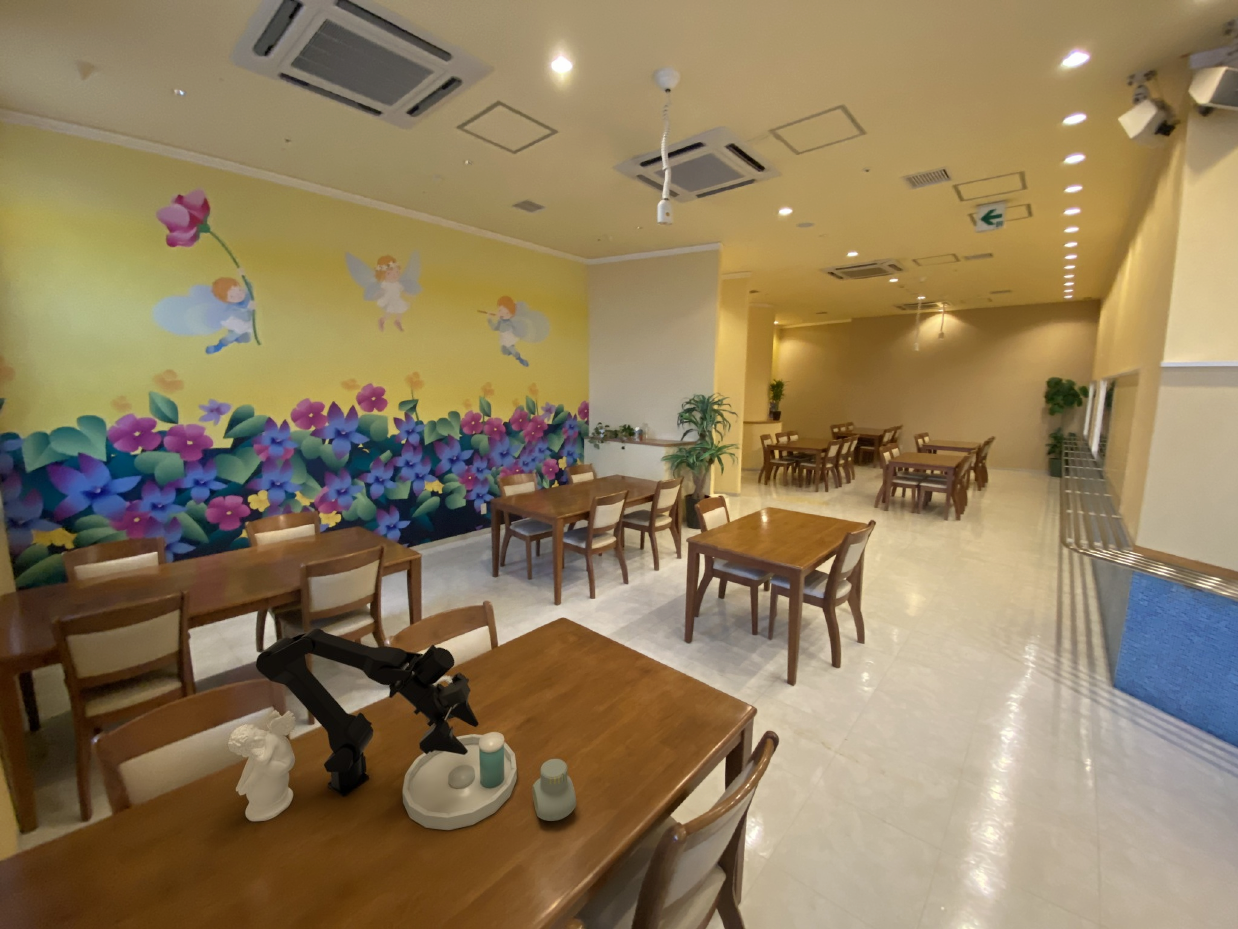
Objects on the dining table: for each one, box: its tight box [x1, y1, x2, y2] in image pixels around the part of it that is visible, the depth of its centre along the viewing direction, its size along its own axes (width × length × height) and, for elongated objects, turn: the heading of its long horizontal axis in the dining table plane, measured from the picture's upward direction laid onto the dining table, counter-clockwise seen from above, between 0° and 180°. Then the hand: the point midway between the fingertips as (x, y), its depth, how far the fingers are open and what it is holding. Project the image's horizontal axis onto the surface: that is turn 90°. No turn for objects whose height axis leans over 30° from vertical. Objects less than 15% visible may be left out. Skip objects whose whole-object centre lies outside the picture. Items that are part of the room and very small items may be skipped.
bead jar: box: [479, 731, 505, 788], centre depth 116 cm, size 6×6×10 cm
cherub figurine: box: [227, 709, 296, 822], centre depth 109 cm, size 12×12×22 cm
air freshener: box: [531, 758, 577, 822], centre depth 109 cm, size 11×8×10 cm
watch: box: [433, 674, 456, 720], centre depth 140 cm, size 6×8×11 cm
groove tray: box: [402, 733, 518, 831], centre depth 116 cm, size 25×25×3 cm
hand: (472, 738), depth 115 cm, fingers open, 9 cm apart
